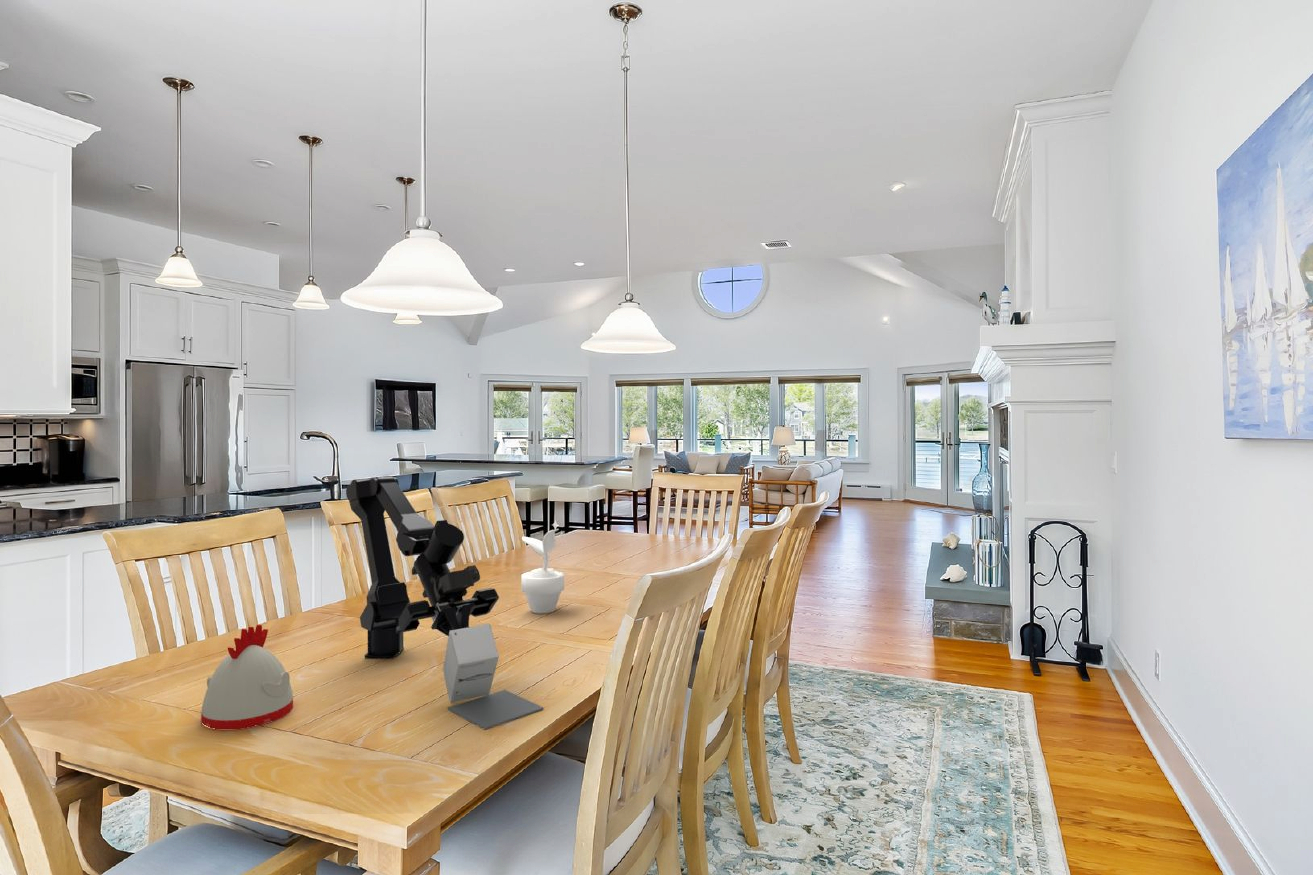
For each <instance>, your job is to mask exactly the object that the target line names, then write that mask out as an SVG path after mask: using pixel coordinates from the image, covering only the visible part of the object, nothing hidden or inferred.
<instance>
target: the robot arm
mask: <svg viewBox="0 0 1313 875" xmlns="http://www.w3.org/2000/svg"><path fill="white" fill-rule="evenodd" d="M399 485H400V482H399V480H398V478H397V477H396V476H395V477H394V476H392V475H391V476H375V477H374V478H361V479H360V478H358V479H357V478H356V479H352V480H351V482H350V484H348V485H347V486H346V488H345V489H346V490H345V495H346V499H347V500H348V501H349V502H348V503H349V505H350V506H349V507H350V509H351V511H352V512H353V513H354V515H356V516H357V517H358V519H360V523H361V528H362V533H363V538H364V545H365V550H366V555H367V560H368V568H369V573H370V579H371V585H370V586H369V587H370V588H369V590H368V592H367V595H366V605H365V607H364V608H363V611H362V613H361V615H360V616H359V622H360V627H361V628H362V629H365V630H367V653H365V654H364V659H365V658H368V659H369V658H375V659H376V658H377V659H378V658H385V659H386V658H387V659H388V658H396V657H397V656H398V655H399V654H401V652H402V651H403V650H404V649H405V647H404V633H407V632H411V631H415V630H417V629H418V627H419V626H420V621H419V620H424V619H429V618H431V620H432V622H433V623H432V624H431V626H430V628H431V630H437V631H439V632H440V633H441V634H444V635H445V636H447V637H449V631H450V630H456V629H462V628H467V627H470V626H469V625H470V616H472V617H474V618H477V617H481V616H485V615H487V614H490V613H491V611H492V609H493V608H494V606H496V603H497V602H498V600H499V599H500V596H499V594H498V592H497V590H496V589H495V588H492V587H489V588H483V589H482V588H481V589H476V590H475V591H474V593H473V594H472V596H471V598H466V599H463V597H465V596H466V595H467V594H468V590H467V589H468V588H470V587H474V586H475V583H477V582H479V581H480V580H481V575H480V571H479V569H478V568H477V566H476V565H475V564H474V565H468V566H466V567H464V569H461V570H460V569H459V570H454V571H450V568H449V565H448V564H449V563H450V562H452V561H453V560H454V558H455V556H456V554H457V553H458V551H459V549H460V547H461V546H462V544H463V543H464V539H465V535H464V532H463V531H462V530H461V529H460V528H459V527H457V526H456V525H454V524H451V523H449V522H448V520H447V519H442V520H441V519H440V520H436V522H435V524H433V523H432V522H431V521H430V520H429V519H427V518H425V517H422V516H420V515H419V514H418V513H417V511H416V510H415V508H414V507H413V506H412V504H411V503H410V501H409V499H408V498H407V496H406V495H405V493H404V492H403V490H402V488H401V487H400V486H399ZM385 512H386V513H387V515H388V517H389V519H390V520H391V522H392V523H393V525H394V527H395V529H396V531H397V534H396V538H395V541H396V543H397V547H398V550H400V553H401V554H402V555H403V556H404V557H410V556H417V558H416V559H415V560H414V562H413V567H412V568H411V575H412V576H414V575H415V576H416V575H417V577H418V578H419V580H420V583H421V585H422V588H423V591H422V594H421V595H422V597H423V600H419V601H413V602H411V601H410V597H409V594H408V588H407V584H406V583H405V582H404V581H402V582H401V581H399V579H398V578H397V576H396V573H395V570H394V564H393V559H392V558H393V557H392V554H391V547H390V542H389V536H388V531H387V525H386V519H385V515H384V514H385ZM426 598H427V600H424V599H426Z"/></svg>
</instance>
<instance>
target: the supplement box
mask: <svg viewBox="0 0 1313 875" xmlns="http://www.w3.org/2000/svg"><path fill="white" fill-rule="evenodd" d="M447 637H448V636H447ZM496 644H497V643H496V640H495V636H494V632H493V630H492V625H491V623H485V624H479V625H474V626H469V627H467V628H462V629H456V630H450V631H449V637H448V638H447V644H446V649H445V655H444V660H443V666H442V672H443V678H444V681H445V687H446V692H447V695H448V700H449V703H450V704H453V703H456V702H460V701H464V700H469V699H474V698H480V697H483V696H486V695H490V694H491V693H490V692H491V690H492V685H493V681H494V677H495V674H496V669H497V666H498V662H499V659H500V658H499V657H500V656H499V652H498V647H497V645H496Z"/></svg>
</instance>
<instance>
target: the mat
mask: <svg viewBox="0 0 1313 875" xmlns="http://www.w3.org/2000/svg"><path fill="white" fill-rule="evenodd" d="M544 708H545V707H543V706H541V705H539V704H537V703H535V702H533V701H530V700H528V699H526V698H524V697H522V696H520V695H518V694H516V693H513V692H510V691H509V690H506V689H503V690H500V691H497V692H492V693H489V695H485V696H479V697H476V698H475V699H474V698H473V699H471V700H468V701H464V702H461V703H458V704H454V705H451V706H449V707H448V706H447V710H448V711H450V712H452V713H454V714H455V715H457V716H459V717H461V718H463V719H464V720H467V721H468V722H470V723H472V724H473V725H475V726H477V725H478V726H477V727H479V728H480V729H483V730H484V729H485V730H488V729H491V728H493V726H494V727H497V726H500V725H502V724H506V723H508V722H511V721H514V720H517V719H519V717H520V718H522V717H526V716H528V715H531V714H534V713H537V712H539V711H543V710H545V709H544ZM542 709H543V710H542ZM525 715H526V716H525ZM516 718H517V719H516ZM496 725H497V726H496Z"/></svg>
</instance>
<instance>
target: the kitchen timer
mask: <svg viewBox="0 0 1313 875" xmlns="http://www.w3.org/2000/svg"><path fill="white" fill-rule="evenodd" d="M240 632H241V633H240V638H239V637H237V638H236V637H234V639H233V641H234V645H235V648H233V647H229V646H228V647H227V651H228V655H227V656H225V658H224V659H222V660H221V662H220V663H219V665H218V666H217V667H216V668H215V670H214V672H213V674H212V675H211V676H208V677H207V680H206V686H207V689H206V691H205V694H204V699H203V701H202V707H201V710H200V711H201V712H200V713H201V714H200V718H201V720H200V721H202V723H203V724H204V725H206V726H208V727H210V728H215V729H214V730H216V729H237V730H242V729H241V728H245V729H248V728H247V727H250V728H253V727H252V726H255V725H260V726H263V725H266V724H269V723H272V722H271V721H273V722H276V720H279V719H282V718H283V717H285V716H287V713H288V714H289V713H290V712H291V711H292V710H293V709H294V697H293V690H292V686H291V683H290V682H291V681H290V680H291V679H290V678H291V677H290V673H289V672H287V671H286V669H285V667H284V666H283V664H282V663H281V660H279V658H278V657H276V656H275V655H274V654H273V653H272V652H271V651H270V650H268V649H266V648H264V646H265V642H266V639H267V636H268V633H269V629H268V628H263V625H262V624H256V626H255V628H254V626H248V628H241V631H240ZM281 717H282V718H281ZM268 722H269V723H268ZM202 723H201V724H202ZM265 723H266V724H265ZM203 724H202V725H203ZM262 724H263V725H262ZM204 725H203V726H204ZM255 727H256V726H255ZM210 728H209V729H210Z"/></svg>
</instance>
